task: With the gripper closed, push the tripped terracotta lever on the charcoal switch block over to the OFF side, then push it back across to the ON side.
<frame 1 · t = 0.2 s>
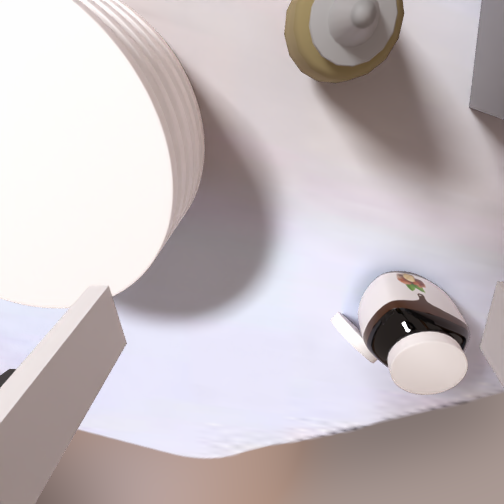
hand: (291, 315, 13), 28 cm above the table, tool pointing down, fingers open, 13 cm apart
plate stack: (76, 136, 40), on the table
spread jar: (383, 304, 46), on the table
squeeze bottle: (331, 29, 33), on the table
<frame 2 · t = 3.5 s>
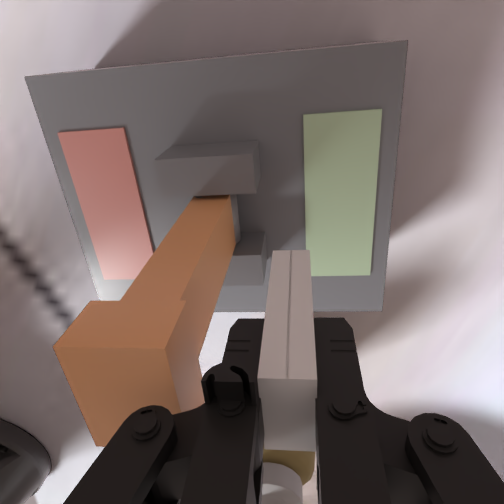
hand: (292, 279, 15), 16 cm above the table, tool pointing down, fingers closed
breaker lever: (191, 269, 17), point 15 cm above the table, hinge at -0.6°, touching gripper
switch block: (239, 168, 30), on the table
squeeze bottle: (278, 355, 39), on the table
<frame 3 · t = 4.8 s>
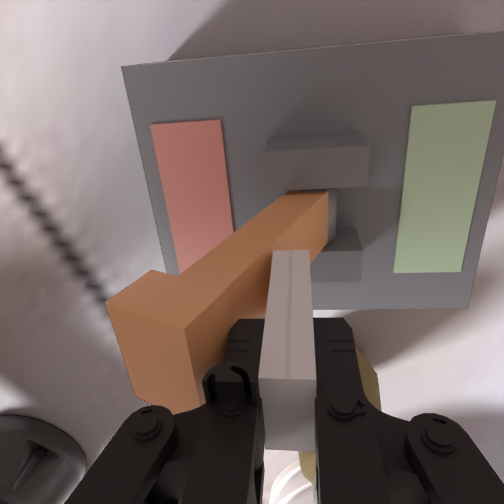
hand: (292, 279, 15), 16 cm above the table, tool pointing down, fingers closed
breaker lever: (265, 259, 17), point 15 cm above the table, hinge at -23.9°, touching gripper
switch block: (309, 164, 29), on the table
squeeze bottle: (330, 354, 39), on the table
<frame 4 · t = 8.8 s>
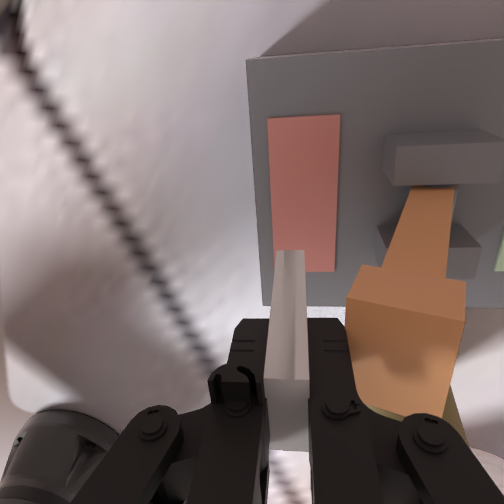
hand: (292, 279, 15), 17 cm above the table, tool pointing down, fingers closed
breaker lever: (419, 254, 17), point 15 cm above the table, hinge at -20.2°, touching gripper
switch block: (393, 162, 29), on the table
squeeze bottle: (392, 354, 39), on the table
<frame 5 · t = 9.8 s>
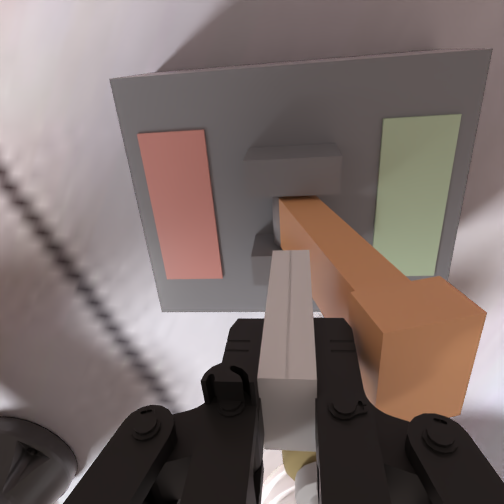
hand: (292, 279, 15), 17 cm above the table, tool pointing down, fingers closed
breaker lever: (331, 263, 17), point 15 cm above the table, hinge at 16.8°, touching gripper
switch block: (293, 171, 31), on the table
squeeze bottle: (316, 357, 40), on the table
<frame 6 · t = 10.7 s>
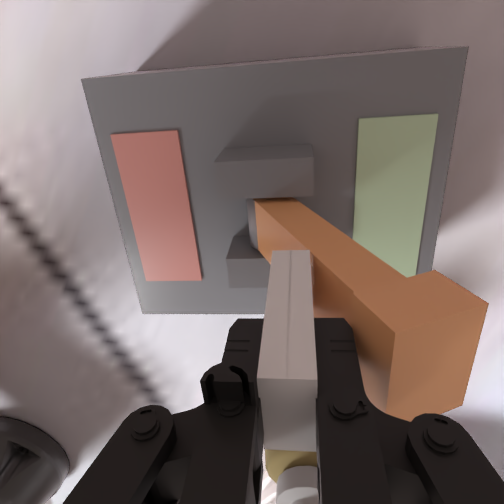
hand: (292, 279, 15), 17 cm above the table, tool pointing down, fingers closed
breaker lever: (316, 263, 17), point 15 cm above the table, hinge at 25.0°, touching gripper
switch block: (276, 171, 30), on the table
squeeze bottle: (305, 358, 39), on the table
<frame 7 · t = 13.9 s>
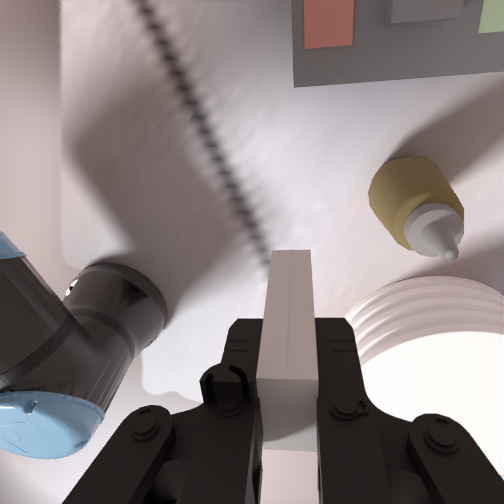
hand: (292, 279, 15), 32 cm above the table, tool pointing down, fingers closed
plate stack: (422, 352, 58), on the table
squeeze bottle: (397, 181, 45), on the table
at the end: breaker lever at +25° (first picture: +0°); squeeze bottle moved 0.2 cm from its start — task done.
